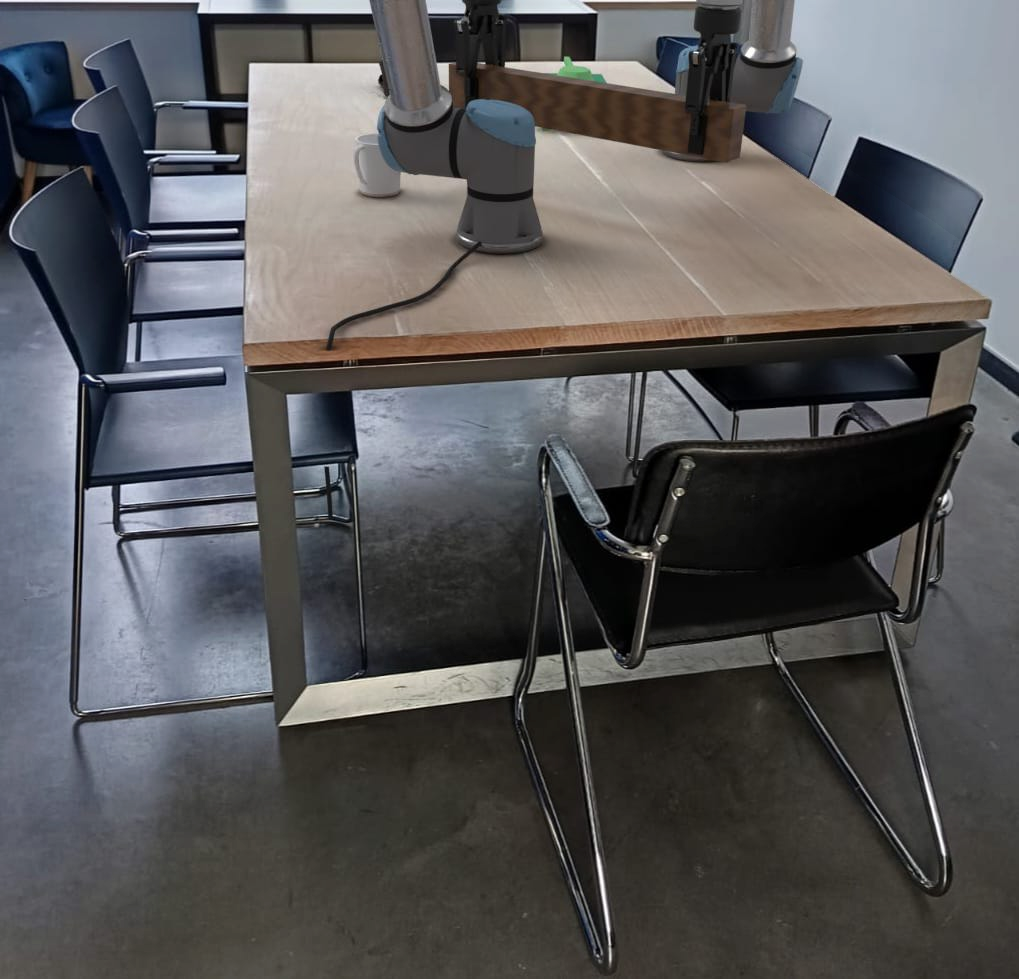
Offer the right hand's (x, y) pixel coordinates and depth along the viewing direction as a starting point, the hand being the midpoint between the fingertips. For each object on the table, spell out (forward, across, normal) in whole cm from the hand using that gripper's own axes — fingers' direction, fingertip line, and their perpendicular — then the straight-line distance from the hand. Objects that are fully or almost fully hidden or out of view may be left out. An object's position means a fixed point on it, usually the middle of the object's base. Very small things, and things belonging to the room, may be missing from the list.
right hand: (702, 150), depth 191 cm
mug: (+16, -17, +62) cm, 67 cm away
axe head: (+16, +58, +121) cm, 136 cm away
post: (+1, 0, +25) cm, 25 cm away
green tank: (+16, +64, +70) cm, 96 cm away
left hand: (+1, 0, +49) cm, 49 cm away
